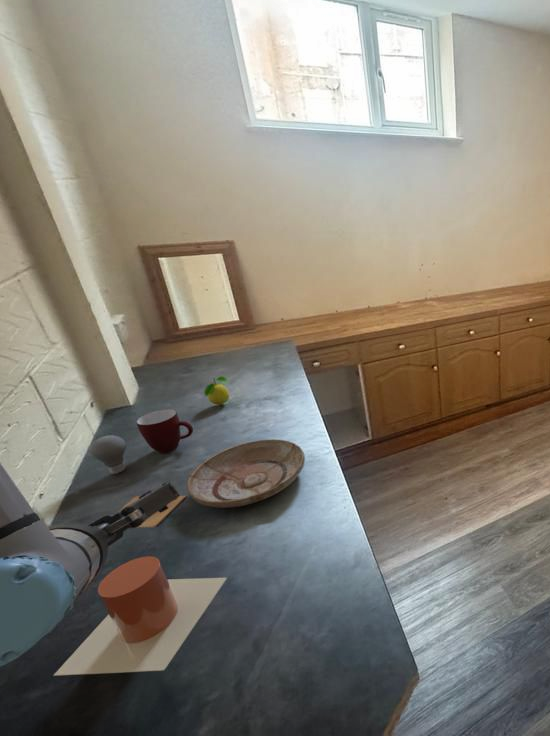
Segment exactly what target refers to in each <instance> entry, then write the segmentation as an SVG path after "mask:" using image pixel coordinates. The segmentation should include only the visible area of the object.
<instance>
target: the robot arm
mask: <svg viewBox="0 0 550 736" xmlns="http://www.w3.org/2000/svg"><path fill="white" fill-rule="evenodd" d="M139 496H140V497H139V499H138V500H137V501H135V502H133V503H131V504H130V505H128V506H126V507H125V508H123V509H121V508H120V509H121V510H120V509H119V510H120V511H119V510H118V511H116V512H114V513H113V514H110V515H109V514H104V515H102V516H100V517H98V518H97V519H94V520H92V521H91V522H90V523H88V524H83V523H77V522H76V523H75V522H73V523H72V522H71V523H60V524H55V525H51V526H48V525H47V524H46V523H45V522H44V520H43V519H41V518H40V516H39V514H38V513H36V512H35V510H34V509H33V508H32V505H30V503H29V502H28V500H27V499H26V497H25V496H24V495H23V494H22V492H21V490H20V489H19V487H18V486H17V484H16V483H15V482H14V480H13V479H12V477H11V476H10V475H9V473H8V471H6V469H5V468H4V466H3V465H2V463H1V462H0V667H2V666H4V665H7V664H9V663H10V662H13V661H15V660H16V659H18V658H20V656H22V655H23V654H25V653H26V652H27V651H29V650H30V649H31V648H32V647H34V645H36V644H37V643H38V642H39V641H40V640H41V639H42V638H43V637H45V636H46V635H48V634H50V633H52V632H53V631H54V629H55V628H56V626H57V625H58V624H59V623H61V622H63V619H64V618H65V617H66V615H67V614H69V613H70V612H71V611H72V610H73V609H74V607H75V605H74V602H75V601H76V600H77V599H78V598H79V596H80V595H81V594H82V593H83V592H84V591H85V589H86V588H87V587H88V586H89V585H90V584H91V583H92V582H93V580H94V579H95V578H96V577H97V575H99V574H100V572H101V571H102V569H103V567H104V565H105V563H106V561H107V558H108V554H109V547H110V546H111V545H113V544H114V543H116V542H117V541H119V540H121V539H122V538H123V537H124V532H125V531H127V530H128V529H134V528H139V527H138V526H140V525H142V523H143V522H144V521H146V520H147V519H148V518H149V517H150V516H152V515H153V514H155V513H156V512H157V511H159V512H160V513H161V512H163V511H165V510H166V509H168V506H167V504H169V503H170V502H172V501H173V500H176V499H177V498H178V497H179V496H181V494H180V493H179V492H178V491H177V489H176V488H175V486H173V484H172V482H170V481H167V482H164V483H163V484H161V486H159V487H158V488H156V489H153V490H151V489H149V490H147V491H145V492H143V493H142V494H141V495H139Z"/></svg>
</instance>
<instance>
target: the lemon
mask: <svg viewBox="0 0 550 736" xmlns="http://www.w3.org/2000/svg"><path fill="white" fill-rule="evenodd" d="M212 379H213V383H209V384H208V385H206V387H205V389H204V397H207V399H208V400H209V402H210V403H211V404H214V405H219V406H222V405H223V404H225V403H226V402H228V400H229V398H230V392H229V390H228V388H227V387H226V386H225V385H224V384H221V383H227V382H228V379H227V378H226V377H225V376H219V377H217V378H215V377H212ZM216 381H218V382H220V383H216Z"/></svg>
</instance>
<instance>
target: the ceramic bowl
mask: <svg viewBox="0 0 550 736" xmlns="http://www.w3.org/2000/svg"><path fill="white" fill-rule="evenodd" d="M305 458H306V457H305V453H304V451H303V449H302V447H301V446H300V445H299V444H296V443H294V442H292V441H289V440H285V439H275V438H274V439H273V438H272V439H259V440H253V441H250V442H244V443H239V444H236V445H234V446H231V447H228V448H226V449H224V450H221V451H220V452H217V453H216V454H214V455H212V456H210V457H208V458H207V459H206V460H204V462H202V463H201V464H199V465H198V466H197V467H196V468H195V470H194V471H193V472H192V473H191V474H190V476H189V478H188V480H187V485H186V487H187V492H188V495H189V496H190V497H191V499H193V500H194V501H195V502H196V503H198V504H201V505H202V506H205V507H210V508H221V509H228V508H238V507H243V506H248V505H252V504H254V503H257V502H260V501H263V500H265V499H268V498H271V497H273V496H275V495H276V494H278V493H280V492H281V491H283V490H285V489H286V488H287V487H289V486H290V485H291V484H292V483H293V482H294V480H296V479H297V477H298V476H299V475H300V473H301V472H302V470H303V469H304V465H305Z"/></svg>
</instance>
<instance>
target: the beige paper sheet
mask: <svg viewBox="0 0 550 736" xmlns="http://www.w3.org/2000/svg"><path fill="white" fill-rule="evenodd" d="M227 579H228V577H203V578H202V577H201V578H173V579H169V578H167V580H168V583H169V585H170V588H171V590H172V592H173V595H174V597H175V600H176V602H177V605H178V611H177V614H176V616H175V618H174V619H173V620H172V622H171V623H170V624H169V625H168V626H167V627H166V628H165V629H163V630H162V631H161V632H159V633H158V634H156V635H155V636H153V637H151V638H149V639H147V640H145V641H142V642H138V643H126V642H124V641H122V639H121V637H120V635H119V633H118V631H117V629H116V627H115V625H114V623H113V621H112V619H111V618H110V616H109V614H108V613H107V616H105V618H104V619H102V621H101V622H100V623H99V624H98V625H97V626H96V628H95V629H94V630H93V631H92V632H91V633H90V634H89V635H88V636H87V637H86V639H84V641H83V642H82V643H80V645H79V646H78V647H77V649H76V650H75V651H74V652H73V653H72V654H71V655H70V656H69V657H68V658H67V660H65V662H64V663H63V664H62V665H61V666H60V667H59V668H58V669H57V671H56V672H54V674H53V677H57V676H76V675H77V676H78V675H98V674H99V675H100V674H119V673H139V672H140V673H142V672H161V671H162V672H163V671H165V670H166V668H167V667H168V666H169V664H170V662H171V661H172V660H173V658H174V657H175V655H176V654H177V652H179V650H180V648H181V646H182V645H183V644H184V642H185V641H186V639H187V638H188V637H189V635H190V633H191V632H192V630H193V629H194V627H195V626H196V625H197V623H198V622H199V620H200V619H201V618H202V616H203V614H204V613H205V611H206V610H207V609H208V607H209V605H210V604H211V603H212V601H213V600H214V598H215V597H216V595H217V594H218V592H219V591H220V589H221V588H222V586H223V585H224V584H225V582H226V581H227Z"/></svg>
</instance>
